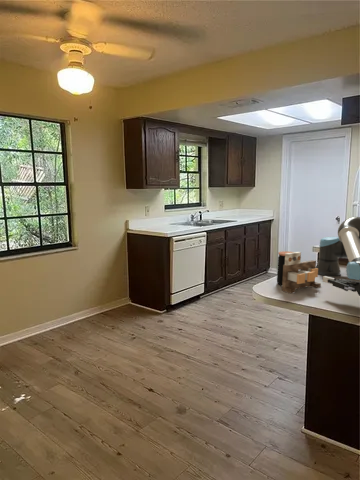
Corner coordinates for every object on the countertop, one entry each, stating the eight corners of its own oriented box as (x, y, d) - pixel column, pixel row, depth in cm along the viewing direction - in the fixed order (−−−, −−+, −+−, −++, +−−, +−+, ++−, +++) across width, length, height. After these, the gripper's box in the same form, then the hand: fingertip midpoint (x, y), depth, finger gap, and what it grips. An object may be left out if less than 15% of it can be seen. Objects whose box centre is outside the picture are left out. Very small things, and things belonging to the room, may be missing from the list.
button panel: (311, 284, 201) (313, 249, 198) (320, 286, 196) (323, 251, 193) (281, 290, 189) (283, 253, 186) (290, 293, 184) (293, 255, 181)
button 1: (292, 279, 190) (292, 270, 190) (304, 282, 183) (305, 273, 183) (286, 280, 188) (286, 271, 187) (298, 284, 181) (299, 274, 180)
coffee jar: (293, 287, 194) (295, 255, 191) (274, 284, 199) (276, 253, 197) (298, 283, 203) (300, 252, 200) (280, 280, 208) (281, 250, 206)
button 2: (305, 273, 202) (305, 265, 202) (317, 277, 195) (318, 268, 195) (299, 274, 200) (300, 266, 199) (311, 278, 193) (312, 269, 192)
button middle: (302, 277, 194) (302, 268, 194) (314, 280, 188) (315, 271, 187) (296, 278, 192) (296, 269, 191) (308, 281, 185) (309, 272, 184)
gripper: (361, 300, 156) (315, 287, 175) (377, 296, 163) (331, 284, 182) (362, 284, 155) (316, 273, 174) (378, 280, 162) (332, 270, 181)
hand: (323, 278), depth 178 cm, fingers closed
